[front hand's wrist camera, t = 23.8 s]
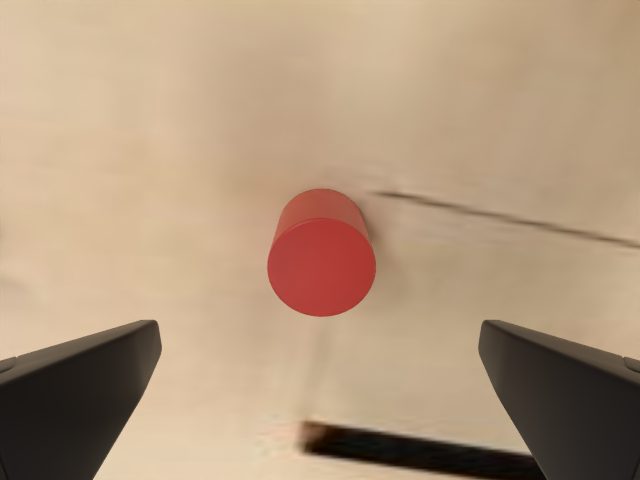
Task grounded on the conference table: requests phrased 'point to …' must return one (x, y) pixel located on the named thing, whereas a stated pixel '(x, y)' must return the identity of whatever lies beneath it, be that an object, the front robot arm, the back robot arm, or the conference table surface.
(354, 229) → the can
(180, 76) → the conference table surface
